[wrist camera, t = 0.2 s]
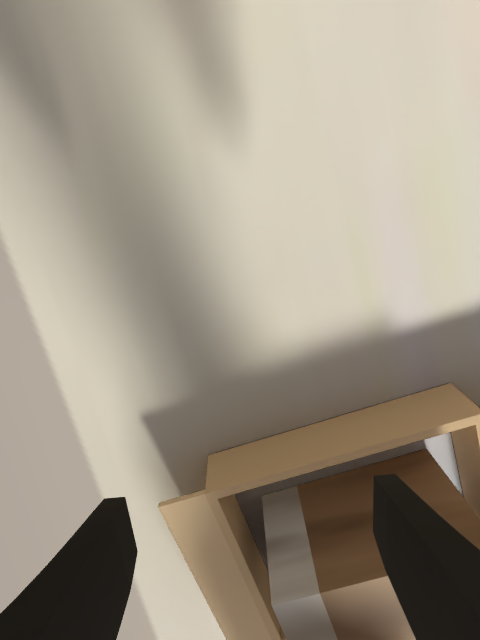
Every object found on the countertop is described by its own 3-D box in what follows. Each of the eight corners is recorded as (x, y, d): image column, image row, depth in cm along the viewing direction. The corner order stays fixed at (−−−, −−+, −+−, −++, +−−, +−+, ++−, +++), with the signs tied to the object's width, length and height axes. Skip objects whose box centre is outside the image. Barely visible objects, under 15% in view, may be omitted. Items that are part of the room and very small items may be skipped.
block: (439, 506, 24) (512, 617, 17) (283, 548, 24) (299, 668, 18) (426, 448, 22) (500, 546, 16) (261, 495, 23) (271, 605, 17)
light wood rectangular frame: (520, 532, 24) (559, 578, 21) (235, 606, 26) (235, 657, 23) (497, 369, 21) (539, 397, 18) (168, 467, 22) (158, 507, 19)
